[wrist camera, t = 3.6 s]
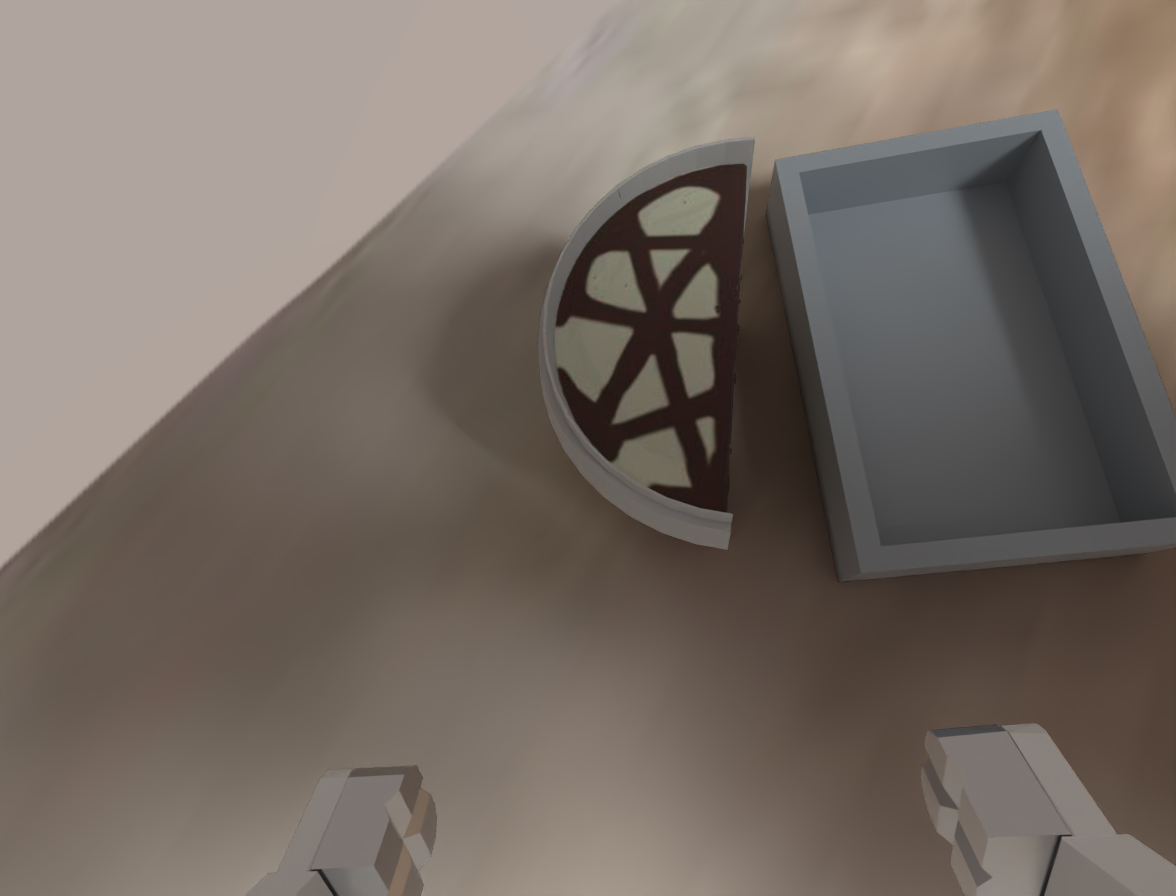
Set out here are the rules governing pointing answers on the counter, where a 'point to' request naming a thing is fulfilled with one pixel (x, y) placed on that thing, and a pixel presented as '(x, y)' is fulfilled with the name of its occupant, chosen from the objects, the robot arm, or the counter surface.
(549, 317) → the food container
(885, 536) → the tray
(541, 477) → the counter surface
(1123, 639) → the counter surface
